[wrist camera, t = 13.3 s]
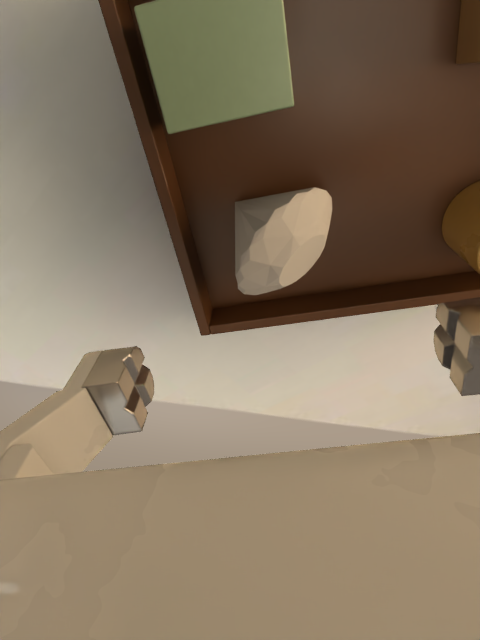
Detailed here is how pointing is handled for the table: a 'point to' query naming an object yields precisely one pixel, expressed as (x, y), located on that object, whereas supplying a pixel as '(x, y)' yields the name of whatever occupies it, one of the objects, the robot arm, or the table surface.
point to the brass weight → (464, 225)
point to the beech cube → (469, 33)
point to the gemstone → (279, 238)
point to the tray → (326, 161)
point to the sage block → (216, 59)
